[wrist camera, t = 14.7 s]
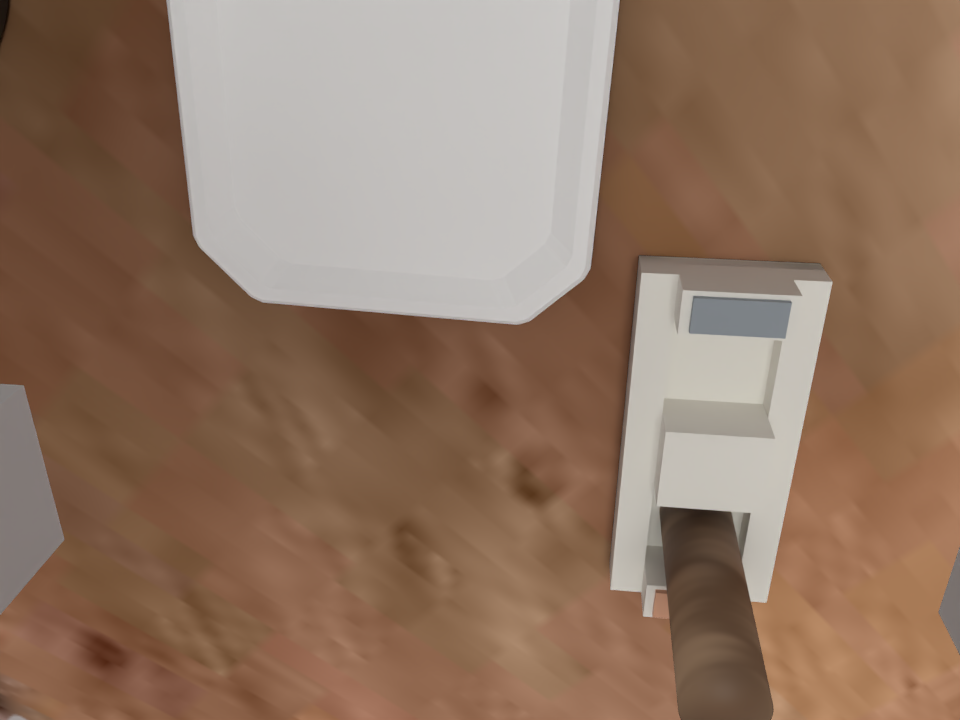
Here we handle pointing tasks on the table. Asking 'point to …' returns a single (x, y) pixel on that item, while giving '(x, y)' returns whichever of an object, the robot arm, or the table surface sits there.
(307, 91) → the plate
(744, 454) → the socket block
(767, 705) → the dowel
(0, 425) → the robot arm
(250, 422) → the table surface
